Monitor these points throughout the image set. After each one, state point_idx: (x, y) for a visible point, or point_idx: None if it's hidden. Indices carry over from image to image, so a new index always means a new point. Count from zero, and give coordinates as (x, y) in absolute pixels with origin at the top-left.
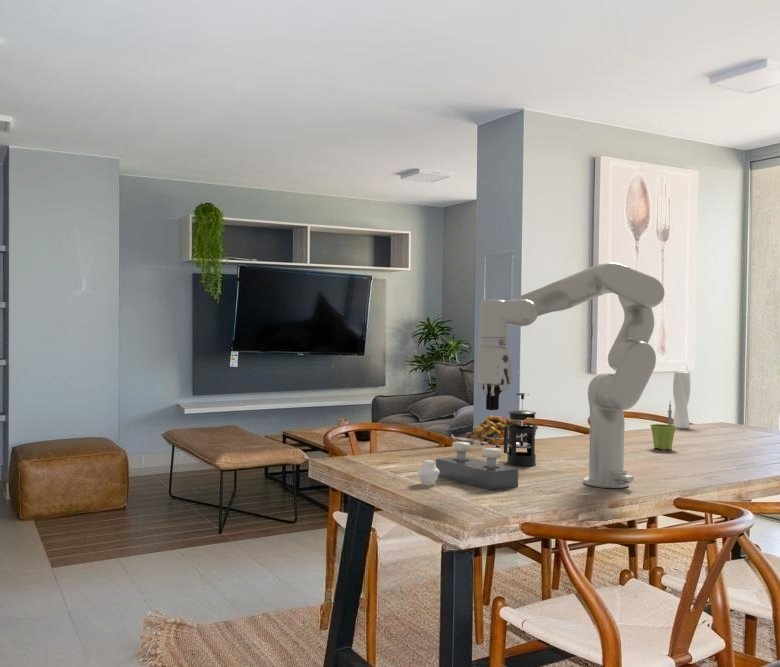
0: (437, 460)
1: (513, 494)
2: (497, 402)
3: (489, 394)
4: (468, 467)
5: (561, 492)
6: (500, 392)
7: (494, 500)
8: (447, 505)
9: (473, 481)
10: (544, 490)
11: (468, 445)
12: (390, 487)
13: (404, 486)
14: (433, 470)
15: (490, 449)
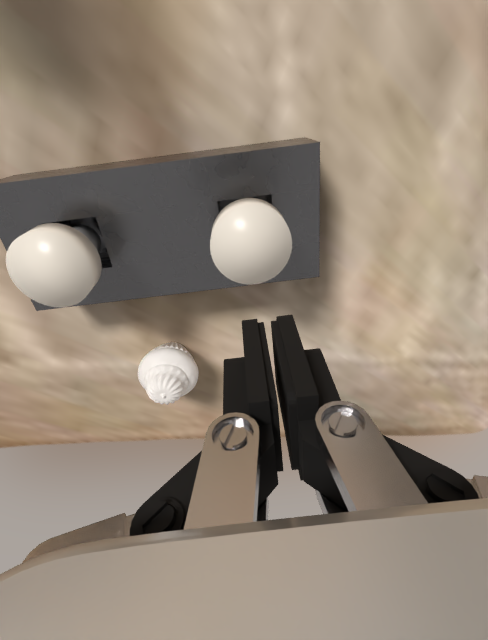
0: (46, 307)
1: (376, 226)
2: (327, 375)
3: (274, 474)
4: (207, 289)
5: (460, 39)
6: (402, 449)
7: (393, 309)
8: (366, 404)
9: None
10: (398, 82)
11: (87, 256)
12: (175, 425)
13: (175, 401)
14: (194, 379)
15: (254, 255)
